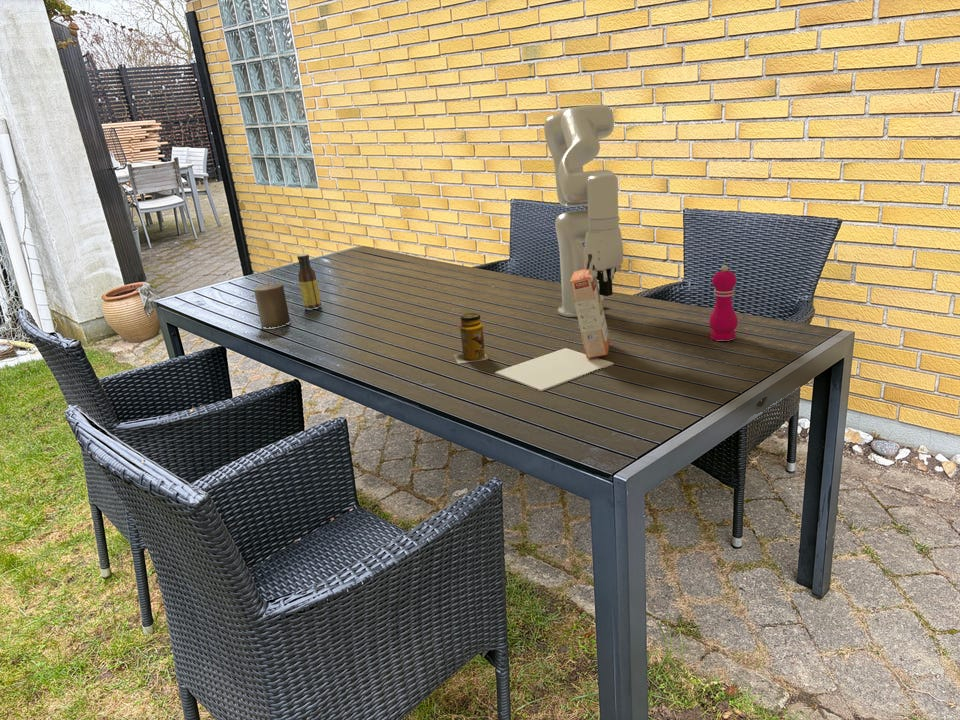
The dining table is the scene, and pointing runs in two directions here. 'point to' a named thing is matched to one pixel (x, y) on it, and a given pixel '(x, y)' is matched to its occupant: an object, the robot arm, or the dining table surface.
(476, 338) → the condiment
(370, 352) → the dining table surface
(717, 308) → the pepper mill
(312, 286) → the sauce bottle
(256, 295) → the pillar candle
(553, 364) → the mat
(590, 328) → the cracker box
